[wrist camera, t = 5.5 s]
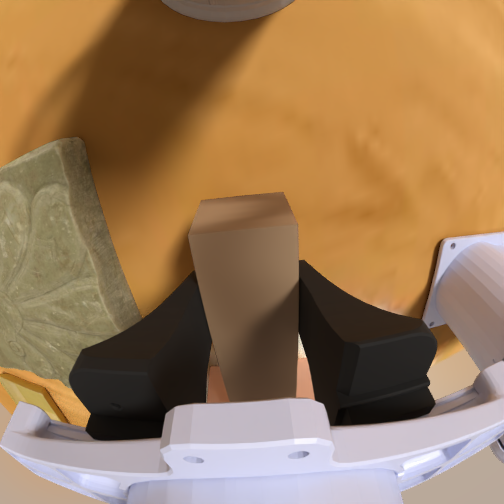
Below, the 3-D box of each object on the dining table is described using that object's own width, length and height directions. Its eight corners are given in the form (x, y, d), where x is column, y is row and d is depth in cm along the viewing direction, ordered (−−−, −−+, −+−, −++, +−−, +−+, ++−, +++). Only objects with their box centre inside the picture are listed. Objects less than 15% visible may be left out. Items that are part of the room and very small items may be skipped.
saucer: (28, 403, 27) (23, 414, 25) (1, 363, 23) (-6, 374, 21) (74, 420, 27) (69, 432, 25) (49, 381, 24) (42, 394, 22)
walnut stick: (283, 192, 12) (298, 224, 9) (288, 372, 18) (295, 416, 15) (201, 200, 12) (187, 235, 9) (235, 377, 18) (235, 421, 15)
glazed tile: (313, 356, 21) (332, 433, 15) (312, 369, 22) (329, 442, 15) (210, 366, 21) (203, 444, 15) (214, 378, 22) (209, 453, 15)
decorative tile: (-56, 210, 14) (-79, 224, 11) (86, 130, 13) (51, 137, 10) (19, 361, 23) (6, 383, 19) (170, 367, 22) (163, 402, 19)
